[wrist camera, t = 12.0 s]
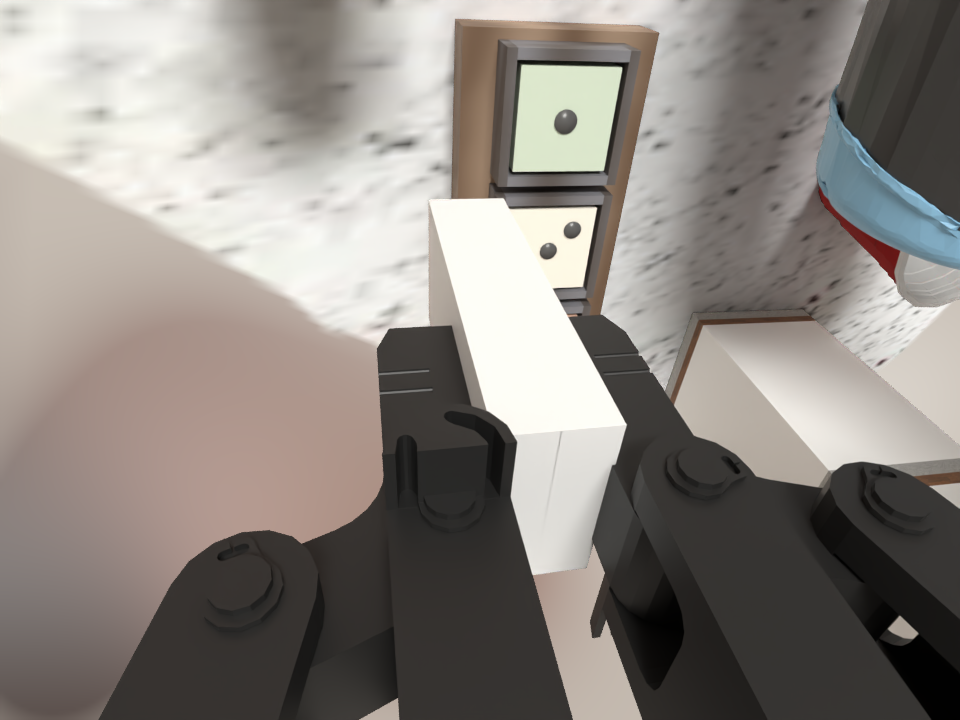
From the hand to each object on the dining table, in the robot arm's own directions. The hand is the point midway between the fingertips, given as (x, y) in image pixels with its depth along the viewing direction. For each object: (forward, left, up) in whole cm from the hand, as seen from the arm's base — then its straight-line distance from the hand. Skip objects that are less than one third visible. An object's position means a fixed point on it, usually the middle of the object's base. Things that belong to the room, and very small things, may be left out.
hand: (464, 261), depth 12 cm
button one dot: (-10, +3, -26) cm, 28 cm away
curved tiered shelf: (-32, +27, -30) cm, 51 cm away
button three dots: (-10, +12, -26) cm, 30 cm away
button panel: (-10, +12, -29) cm, 33 cm away
